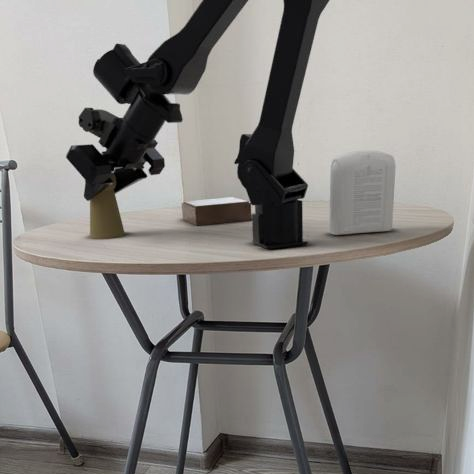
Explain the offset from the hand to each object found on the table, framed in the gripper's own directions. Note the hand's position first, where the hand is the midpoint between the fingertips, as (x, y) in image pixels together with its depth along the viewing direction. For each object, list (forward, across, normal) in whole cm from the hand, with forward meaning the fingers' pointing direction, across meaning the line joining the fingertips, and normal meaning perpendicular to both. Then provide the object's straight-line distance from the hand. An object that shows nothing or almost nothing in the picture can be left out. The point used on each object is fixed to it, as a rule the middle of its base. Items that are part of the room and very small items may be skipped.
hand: (96, 197), depth 101 cm
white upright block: (-26, -13, +35) cm, 45 cm away
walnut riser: (-3, -20, +13) cm, 24 cm away
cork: (+4, 0, +6) cm, 7 cm away
